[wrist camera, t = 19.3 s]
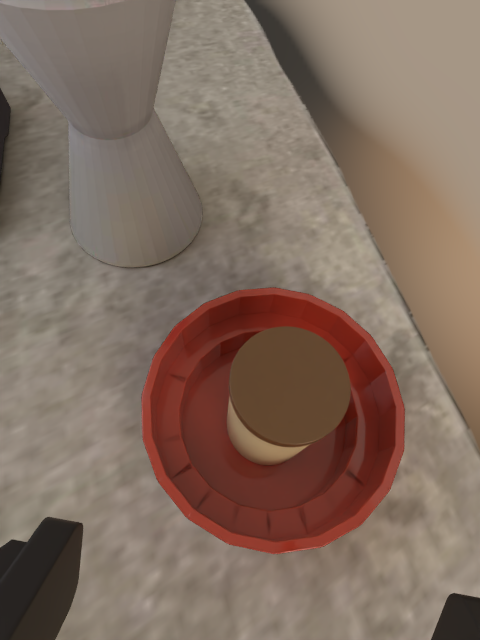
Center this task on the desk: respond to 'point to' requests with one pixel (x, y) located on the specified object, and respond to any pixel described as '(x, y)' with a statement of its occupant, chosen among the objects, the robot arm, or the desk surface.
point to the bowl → (288, 477)
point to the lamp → (110, 121)
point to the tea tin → (284, 394)
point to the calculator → (3, 124)
